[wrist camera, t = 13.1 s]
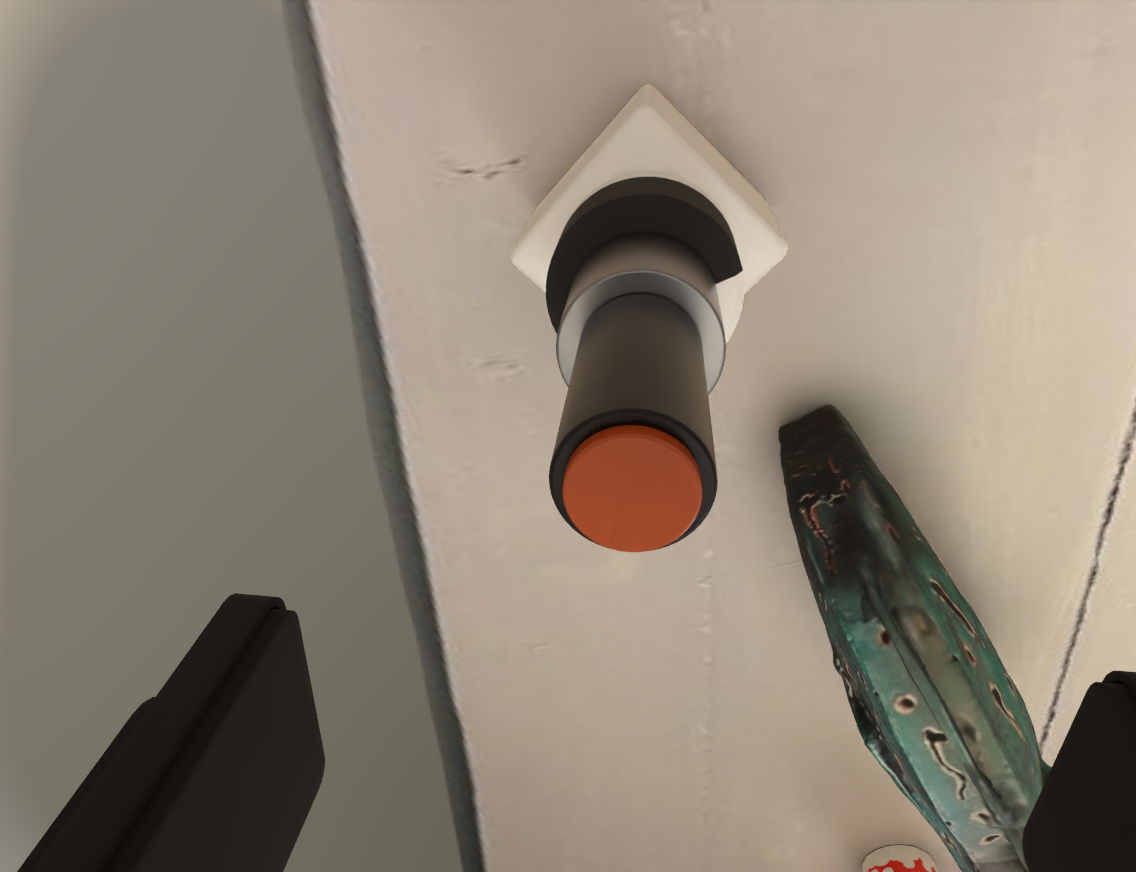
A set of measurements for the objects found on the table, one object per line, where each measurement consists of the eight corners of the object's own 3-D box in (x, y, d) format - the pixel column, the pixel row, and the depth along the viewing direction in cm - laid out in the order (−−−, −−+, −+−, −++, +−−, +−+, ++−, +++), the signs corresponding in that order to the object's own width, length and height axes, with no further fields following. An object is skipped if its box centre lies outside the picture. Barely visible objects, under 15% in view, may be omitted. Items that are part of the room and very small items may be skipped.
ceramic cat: (1015, 657, 44) (1249, 1094, 27) (901, 698, 46) (1046, 1126, 29) (857, 371, 37) (1032, 709, 20) (730, 435, 39) (787, 790, 22)
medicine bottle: (531, 212, 35) (476, 306, 25) (647, 79, 32) (640, 122, 22) (650, 320, 37) (645, 451, 27) (770, 203, 34) (818, 299, 24)
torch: (570, 229, 23) (512, 382, 14) (725, 235, 23) (767, 397, 14) (567, 370, 25) (515, 581, 16) (710, 377, 25) (737, 598, 16)
